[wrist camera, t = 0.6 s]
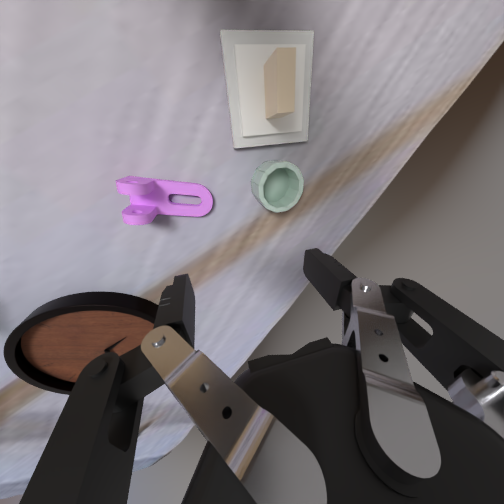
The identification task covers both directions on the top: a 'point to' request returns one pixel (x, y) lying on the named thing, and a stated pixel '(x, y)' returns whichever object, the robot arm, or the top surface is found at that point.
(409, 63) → the top surface
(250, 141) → the mat
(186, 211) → the bracket
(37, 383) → the wall clock
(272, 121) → the cover
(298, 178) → the cup
